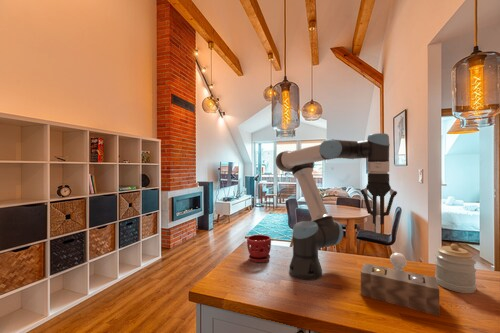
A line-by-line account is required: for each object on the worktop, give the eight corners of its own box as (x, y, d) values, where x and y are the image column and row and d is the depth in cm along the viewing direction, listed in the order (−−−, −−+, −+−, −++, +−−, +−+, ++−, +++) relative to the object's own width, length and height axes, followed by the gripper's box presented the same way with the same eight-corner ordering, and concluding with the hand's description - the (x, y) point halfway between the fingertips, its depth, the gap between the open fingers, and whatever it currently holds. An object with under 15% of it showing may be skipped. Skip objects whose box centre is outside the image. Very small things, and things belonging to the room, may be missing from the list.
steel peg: (409, 300, 85) (409, 278, 85) (409, 294, 88) (409, 273, 88) (424, 304, 82) (424, 281, 82) (423, 298, 86) (423, 276, 86)
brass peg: (372, 291, 91) (372, 270, 91) (373, 286, 95) (373, 266, 95) (385, 294, 89) (385, 273, 89) (386, 289, 93) (386, 269, 93)
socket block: (360, 295, 91) (360, 272, 91) (364, 284, 99) (364, 263, 99) (439, 316, 78) (439, 289, 78) (436, 301, 86) (435, 277, 86)
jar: (437, 275, 107) (437, 237, 107) (476, 285, 98) (476, 243, 98) (432, 285, 98) (432, 243, 98) (475, 298, 88) (475, 251, 89)
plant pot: (275, 257, 129) (274, 235, 129) (264, 266, 118) (263, 242, 118) (254, 253, 136) (254, 232, 136) (242, 260, 125) (242, 238, 125)
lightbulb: (409, 281, 102) (409, 256, 102) (393, 280, 103) (393, 255, 103) (402, 274, 108) (402, 251, 108) (387, 273, 109) (387, 250, 109)
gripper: (358, 172, 93) (358, 231, 93) (397, 173, 85) (397, 237, 86) (361, 172, 99) (361, 227, 99) (397, 172, 92) (397, 232, 92)
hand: (378, 232), depth 92 cm, fingers closed
